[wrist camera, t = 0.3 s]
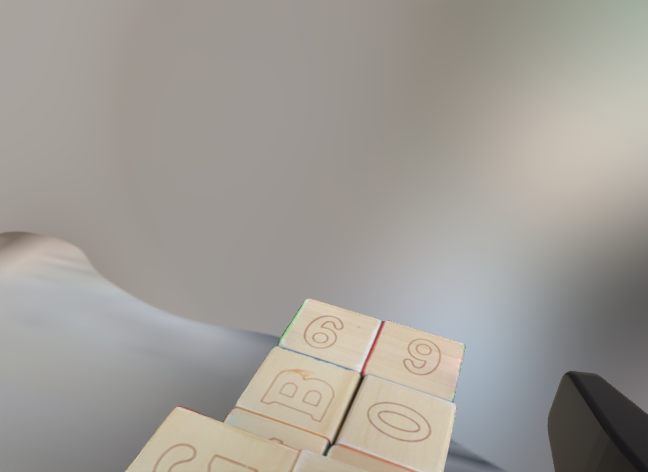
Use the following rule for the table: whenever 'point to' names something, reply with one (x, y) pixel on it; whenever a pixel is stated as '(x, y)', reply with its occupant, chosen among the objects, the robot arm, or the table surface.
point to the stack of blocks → (326, 404)
